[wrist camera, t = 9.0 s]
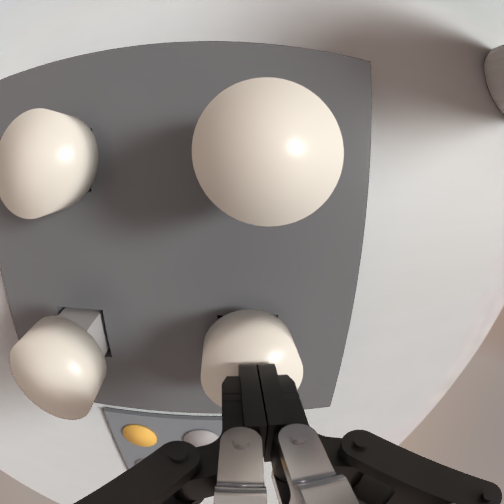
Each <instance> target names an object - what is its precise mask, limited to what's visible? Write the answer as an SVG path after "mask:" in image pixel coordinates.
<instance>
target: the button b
mask: <svg viewBox="0 0 504 504" xmlns="http://www.w3.org/2000/svg"><path fill="white" fill-rule="evenodd" d="M109 347H110V346H109V341H108V336H107V331H106V326H105V321H104V315H103V310H93V309H81V308H70V307H66V308H65V309H64V310H63V311H62V312H61V313H60V314H59V315H58V316H47V317H44V318H42V319H40V320H39V321H38V322H37V323H36V324H35V325H34V326H33V327H32V328H31V329H30V330H29V331H28V332H27V333H26V334H25V335H24V336H23V337H22V338H21V339H20V340H19V341H18V342H17V343H16V344H15V345H14V346H13V348H12V349H11V351H10V355H9V364H10V369H11V372H12V375H13V377H14V379H15V381H16V383H17V384H18V386H19V387H20V389H21V390H22V391H23V393H24V394H25V395H26V396H27V397H28V398H29V399H30V400H31V401H32V402H33V403H34V404H36V405H37V406H38V407H40V408H41V409H42V410H44V411H46V412H47V413H49V414H51V415H54V416H56V417H59V418H62V419H68V420H77V419H81V418H83V417H85V416H86V415H87V414H88V413H89V411H90V409H91V407H92V405H93V402H94V400H95V398H96V396H97V394H98V392H99V389H100V387H101V385H102V383H103V381H104V379H105V376H106V372H107V365H106V360H105V357H104V356H105V354H106V353H107V351H108V349H109Z"/></svg>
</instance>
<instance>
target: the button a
mask: <svg viewBox="0 0 504 504" xmlns="http://www.w3.org/2000/svg"><path fill="white" fill-rule="evenodd" d="M97 167H98V147H97V143H96V139H95V137H94V134H93V132H92V131H91V129H90V128H89V127H88V125H87V124H86V123H85V122H83V121H82V120H80V119H79V118H76V117H74V116H70V115H67V114H63V113H59V112H56V111H52V110H48V109H44V108H36V109H31V110H28V111H26V112H24V113H22V114H21V115H19V116H18V117H17V118H16V119H14V120H13V121H12V123H11V124H10V125H9V126H8V128H7V129H6V130H5V132H4V134H3V136H2V138H1V140H0V198H1V200H2V202H3V203H4V205H5V206H6V207H7V208H8V210H10V211H11V212H12V213H13V214H15V215H16V216H18V217H21V218H24V219H36V218H39V217H42V216H45V215H48V214H51V213H54V212H57V211H60V210H63V209H66V208H69V207H71V206H73V205H75V204H76V203H78V202H79V201H80V200H81V199H82V198H83V197H84V196H85V195H86V194H87V192H88V191H89V189H90V187H91V186H92V184H93V181H94V179H95V176H96V172H97Z"/></svg>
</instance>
